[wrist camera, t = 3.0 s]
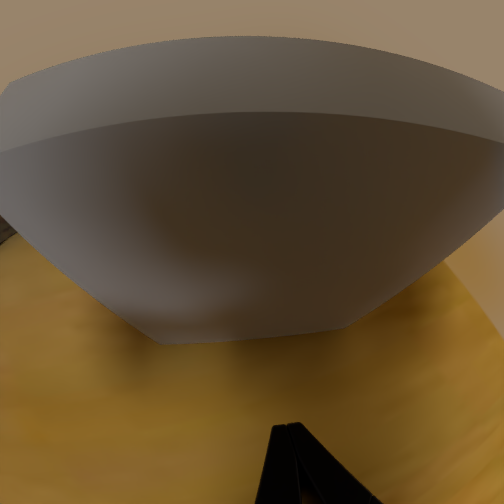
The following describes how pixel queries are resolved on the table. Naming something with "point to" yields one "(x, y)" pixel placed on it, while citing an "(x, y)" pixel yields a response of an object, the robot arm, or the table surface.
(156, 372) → the table surface
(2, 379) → the table surface
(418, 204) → the tile
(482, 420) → the table surface
